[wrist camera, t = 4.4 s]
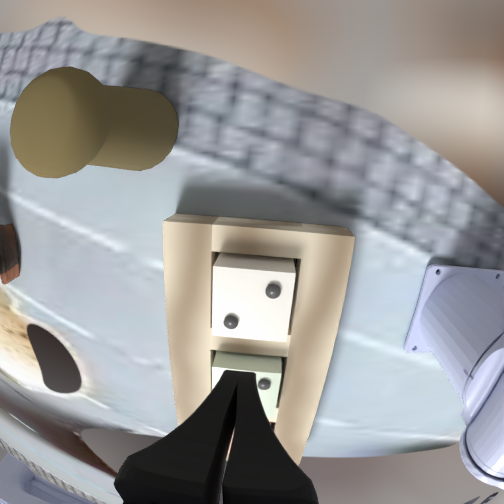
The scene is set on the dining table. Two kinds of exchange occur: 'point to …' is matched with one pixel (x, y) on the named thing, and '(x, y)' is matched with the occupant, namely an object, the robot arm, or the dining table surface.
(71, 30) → the dining table surface
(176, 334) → the wooden puzzle board
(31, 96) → the cork
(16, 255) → the pottery mug
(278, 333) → the two dot key
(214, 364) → the three dot key
